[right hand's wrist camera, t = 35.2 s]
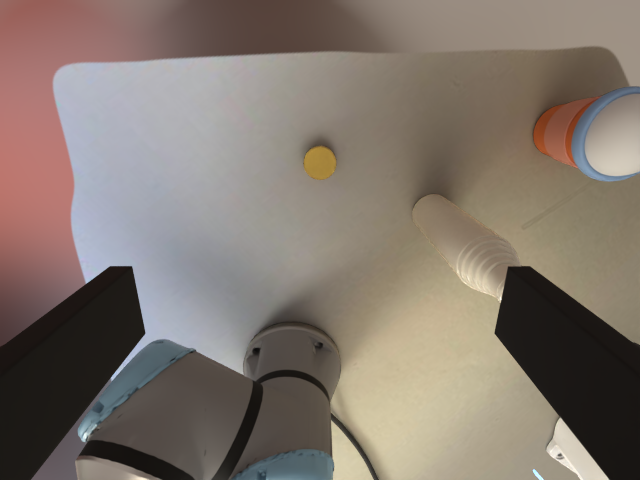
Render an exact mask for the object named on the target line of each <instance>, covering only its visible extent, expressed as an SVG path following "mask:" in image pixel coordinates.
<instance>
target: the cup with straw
mask: <svg viewBox="0 0 640 480" xmlns="http://www.w3.org/2000/svg"><path fill="white" fill-rule="evenodd" d="M533 137H534V143H535V145H536V147H537V148H538V149H539V150H540V151H541V152H542V153H544V154H546V155H548V156H551V157H552V158H554V159H555V160H557V161H560V162H562V163H565V164H568V165H570V166H573V167H576V168H578V169H580V170H581V171H582V172H583V173H584V174H585V175H587V176H589V177H591V178H593V179H596V180H600V181H619V180H624V179H627V178H630V177H632V176H635V175H637V174H638V173H640V87H624V88H620V89H616V90H614V91H611V92H609V93H607V94H605V95H603V96H598V97H593V98H587V99H581V100H576V101H572V102H570V103H568V104H562V105H558V106H555V107H552V108H551V109H549V110H547V111H546V112H545V113H544V114H543V115H542V116H541V117H540V118H539V120H538V121H537V123H536V126H535V129H534V135H533Z"/></svg>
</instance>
